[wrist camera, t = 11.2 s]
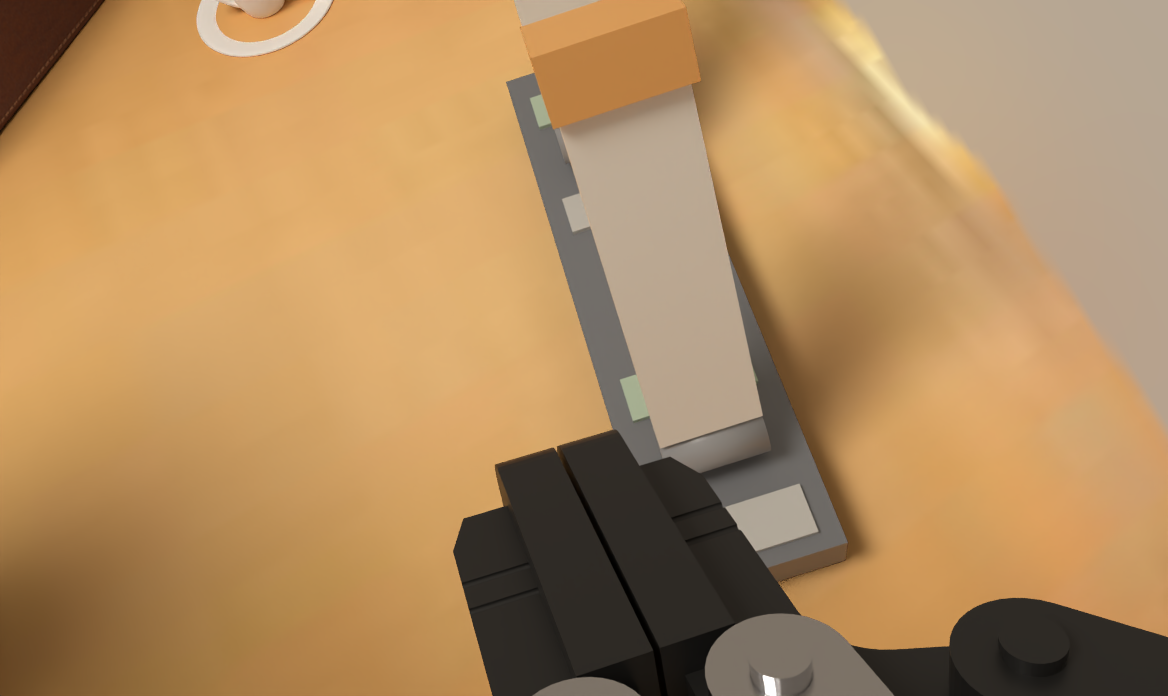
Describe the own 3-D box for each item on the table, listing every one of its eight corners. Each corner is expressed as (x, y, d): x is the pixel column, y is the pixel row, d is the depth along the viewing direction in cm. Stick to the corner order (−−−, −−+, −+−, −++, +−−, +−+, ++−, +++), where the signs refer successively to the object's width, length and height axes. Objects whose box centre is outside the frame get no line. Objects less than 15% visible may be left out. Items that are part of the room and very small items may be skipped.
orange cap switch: (669, 497, 36) (530, 58, 25) (655, 454, 37) (520, 27, 27) (780, 462, 36) (686, 6, 25) (761, 420, 37) (665, -22, 27)
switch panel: (671, 615, 36) (664, 598, 35) (516, 111, 49) (505, 79, 47) (845, 560, 36) (848, 540, 34) (644, 68, 49) (638, 34, 47)
